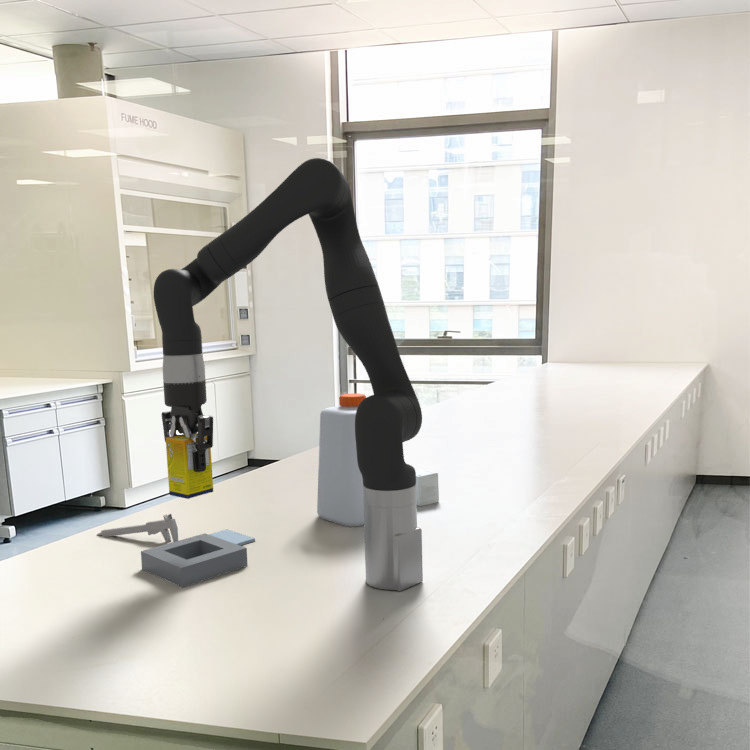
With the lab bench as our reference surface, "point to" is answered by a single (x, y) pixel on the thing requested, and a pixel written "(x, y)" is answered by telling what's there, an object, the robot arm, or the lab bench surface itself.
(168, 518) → the caliper
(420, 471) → the skincare box
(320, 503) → the plastic bottle
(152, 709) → the lab bench surface
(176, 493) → the supplement box
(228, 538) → the pad
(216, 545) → the socket block
